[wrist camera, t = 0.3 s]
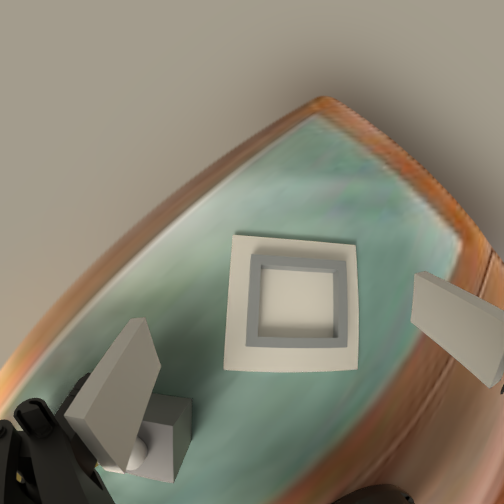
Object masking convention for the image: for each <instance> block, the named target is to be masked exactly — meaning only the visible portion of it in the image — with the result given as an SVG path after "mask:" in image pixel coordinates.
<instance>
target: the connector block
mask: <svg viewBox="0 0 504 504" xmlns="http://www.w3.org/2000/svg"><path fill="white" fill-rule="evenodd" d="M191 423H192V399H191V398H183V397H176V396H169V395H163V394H157V393H151V396H150V399H149V402H148V404H147V407H146V410H145V413H144V416H143V419H142V422H141V425H140V428H139V431H138V434H137V437H136V440H135V443H134V446H133V449H132V452H131V456H130V459H129V462H128V465H127V468H126V472H125V473H128V474H132V475H136V476H140V477H145V478H149V479H154V480H158V481H164V482H169V483H174V481H175V479H176V477H177V474H178V472H179V469H180V467H181V465H182V462H183V460H184V457H185V455H186V452H187V450H188V448H189V445H190V443H191ZM98 464H99V462H98ZM99 465H100V464H99Z"/></svg>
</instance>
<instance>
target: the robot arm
mask: <svg viewBox="0 0 504 504" xmlns="http://www.w3.org/2000/svg"><path fill="white" fill-rule="evenodd" d="M411 323H413V324H414V325H415V326H416V327H418V328H419V329H420V330H421V331H423V332H424V333H425V334H426V335H427V336H429V337H430V338H431V339H432V340H434V341H435V342H436V343H437V344H438V345H440V346H441V347H442V348H443V349H444V350H446V351H447V352H448V353H449V354H450V355H452V356H453V357H454V358H455V359H456V360H457V361H459V362H460V363H461V364H462V365H463V366H464V367H466V368H467V369H468V370H469V371H470V372H471V373H472V374H474V375H475V376H476V377H477V378H478V379H479V380H480V381H482V382H483V383H484V384H485V385H486V386H487V387H488V388H489V389H490V388H491V387H493V386H494V385H495V384H497V383H498V382H499V381H500V380H501V378H502V375H503V373H504V311H503V310H501V309H499V308H498V307H496V306H494V305H492V304H490V303H488V302H486V301H485V300H483V299H481V298H479V297H477V296H475V295H473V294H471V293H469V292H467V291H465V290H463V289H461V288H459V287H457V286H455V285H453V284H451V283H449V282H447V281H445V280H443V279H441V278H439V277H437V276H435V275H433V274H431V273H428V272H426V271H424V272H419V273H415V275H414V292H413V304H412V314H411ZM160 368H161V364H160V361H159V359H158V356H157V353H156V350H155V347H154V344H153V341H152V337H151V334H150V331H149V328H148V325H147V321H146V318H145V317H144V318H132V319H130V320H129V322H128V323H127V324H126V326H125V327H124V328H123V330H122V331H121V332H120V334H119V335H118V336H117V338H116V339H115V341H114V342H113V343H112V345H111V346H110V348H109V349H108V350H107V352H106V353H105V355H104V356H103V357H102V359H101V360H100V362H99V363H98V365H97V366H96V367H95V369H94V370H93V372H92V373H87V374H86V375H85V376H83V377H82V378H81V379H79V381H78V382H77V383H76V385H75V386H74V388H73V390H72V391H71V392H70V393H69V397H68V396H67V398H66V399H65V401H64V402H63V404H62V405H61V407H60V408H59V410H58V411H57V413H56V414H55V416H54V415H53V414H52V412H51V410H50V409H49V407H48V406H47V404H46V402H45V401H44V400H42V399H40V398H32V399H28V400H26V401H24V402H22V403H21V404H20V405H19V406H18V407H17V408H16V410H15V411H14V418H15V419H16V421H17V422H18V424H19V425H20V426H21V428H22V429H23V430H24V431H17V430H16V429H15V427H14V426H13V425H12V423H11V422H10V421H8V420H0V504H115V502H114V501H113V499H112V497H111V496H110V494H109V492H108V490H107V488H106V487H105V485H104V483H103V481H102V479H101V477H100V475H99V473H98V472H97V471H96V470H95V469H94V468H95V465H96V463H97V461H98V462H99V464H100V465H101V466H102V467H103V468H104V469H105V470H106V471H111V472H116V473H122V474H125V472H126V468H127V465H128V462H129V459H130V456H131V452H132V449H133V446H134V443H135V440H136V437H137V434H138V431H139V428H140V425H141V422H142V419H143V416H144V413H145V410H146V407H147V404H148V402H149V399H150V396H151V393H152V390H153V388H154V385H155V382H156V379H157V377H158V374H159V371H160ZM503 392H504V385H503V387H502V389H501V394H503ZM17 473H18V474H19V475H20V476H21V482H19V481H18V480H17ZM333 504H415V503H414V501H413V499H412V497H411V496H410V495H409V494H408V493H407V492H405V491H404V490H402V489H401V488H399V487H397V486H395V485H389V484H381V485H374V486H370V487H366V488H363V489H360V490H358V491H355V492H353V493H351V494H349V495H347V496H345V497H343V498H341V499H339V500H338V501H336V502H334V503H333Z"/></svg>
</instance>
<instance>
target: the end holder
mask: <svg viewBox="0 0 504 504" xmlns="http://www.w3.org/2000/svg"><path fill="white" fill-rule="evenodd" d="M358 343H359V307H358V277H357V260H356V246H355V245H349V244H338V243H327V242H315V241H304V240H292V239H280V238H267V237H255V236H242V235H233V239H232V251H231V264H230V277H229V290H228V304H227V319H226V334H225V351H224V368H223V370H235V371H255V372H323V371H343V370H357V369H358Z"/></svg>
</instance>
